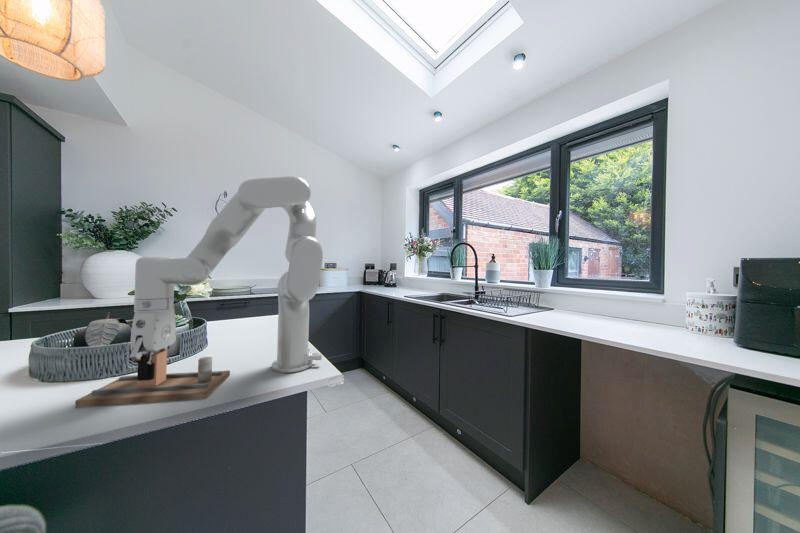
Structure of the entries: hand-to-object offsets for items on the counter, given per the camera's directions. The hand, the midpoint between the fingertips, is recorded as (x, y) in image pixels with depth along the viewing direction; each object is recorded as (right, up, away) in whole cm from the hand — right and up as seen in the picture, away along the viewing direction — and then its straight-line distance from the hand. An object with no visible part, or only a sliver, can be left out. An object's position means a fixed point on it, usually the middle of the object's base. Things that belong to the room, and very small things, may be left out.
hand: (152, 375), depth 69 cm
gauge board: (+2, -4, +1) cm, 5 cm away
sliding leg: (0, -2, 0) cm, 2 cm away
